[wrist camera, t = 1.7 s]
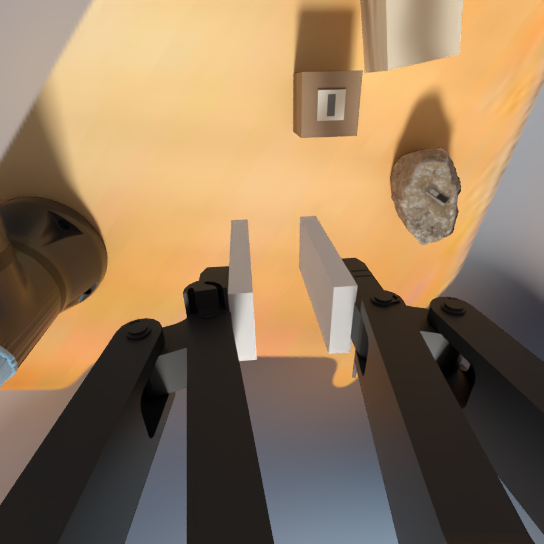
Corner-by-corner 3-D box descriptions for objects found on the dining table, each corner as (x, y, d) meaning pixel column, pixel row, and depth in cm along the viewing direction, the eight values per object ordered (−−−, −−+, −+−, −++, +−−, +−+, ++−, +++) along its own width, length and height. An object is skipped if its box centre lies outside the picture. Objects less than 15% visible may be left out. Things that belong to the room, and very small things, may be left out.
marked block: (293, 131, 41) (301, 138, 36) (293, 74, 38) (302, 71, 33) (341, 129, 42) (357, 136, 36) (345, 72, 39) (363, 70, 33)
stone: (430, 135, 43) (460, 145, 36) (449, 216, 48) (477, 237, 42) (376, 161, 44) (395, 175, 38) (400, 237, 50) (420, 260, 43)
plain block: (364, 73, 39) (387, 70, 33) (360, -4, 35) (385, -23, 29) (424, 59, 39) (459, 54, 33) (426, -19, 35) (465, -41, 29)
